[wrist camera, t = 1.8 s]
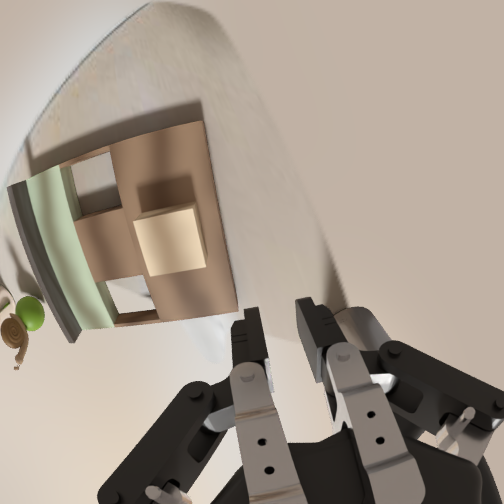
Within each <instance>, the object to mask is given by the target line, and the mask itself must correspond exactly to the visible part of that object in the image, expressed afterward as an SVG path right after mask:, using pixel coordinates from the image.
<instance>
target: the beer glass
mask: <svg viewBox="0 0 504 504" xmlns="http://www.w3.org/2000/svg"><path fill="white" fill-rule="evenodd" d="M15 308H16V305H15V302H14V299H13V297H12V296H11V294H10V293H9V292H8V290H7V289H5V288H4V287H2V286H0V328H1V324H2V322H3V321H4V320H5V319H6V318H10V315H9V313H13V314H15Z"/></svg>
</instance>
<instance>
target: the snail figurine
mask: <svg viewBox="0 0 504 504" xmlns="http://www.w3.org/2000/svg"><path fill="white" fill-rule="evenodd" d="M9 315H10V317H11V318H6V319H5V320H4V321H3V322H2V324H1V336H2V339H3V341H4V342H5V343H6V345H8V346H9V347H10V348H15V349H16V348H19V347H20V349H19V352H18V354H17V355H16V356H15V360H16V362H17V363H18V364H22V362H23V358H24V356H25V353H26V350H27V347H28V340H29V338H28V334H27V330H28V331H35V330H37V329H39V328H40V327H41V326H42V324H43V322H44V317H45V314H44V309H43V306H42V304H41V303H40V302H39V301H38V300H37V299H36V298H34V297H31V296H26V297H23V298H21V299H20V300H19V301H18V303H17V305H16V308H15V314H13V313H9ZM14 370H19V367H14Z"/></svg>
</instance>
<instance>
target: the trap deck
mask: <svg viewBox="0 0 504 504" xmlns="http://www.w3.org/2000/svg"><path fill="white" fill-rule="evenodd" d="M109 151H110V154H111V159H112V164H113V168H114V173H115V178H116V182H117V186H118V190H119V195H120V199H121V203H122V205H120V206H116V207H112V208H109V209H105V210H101V211H98V212H94V213H91V214H87V215H84V216H82V212H81V209H80V205H79V201H78V197H77V194H76V190H75V185H74V181H73V177H72V172H71V167H70V166H71V165H74V164H76V163H79V162H81V161H84V160H87V159H89V158H92V157H95V156H98V155H101V154H103V153H106V152H109ZM7 191H8V195H9V200H10V204H11V207H12V211H13V215H14V218H15V222H16V225H17V228H18V232H19V235H20V238H21V241H22V244H23V246H24V249H25V252H26V255H27V257H28V260H29V262H30V265H31V268H32V270H33V272H34V275H35V277H36V279H37V282H38V284H39V286H40V288H41V291H42V293H43V295H44V297H45V299H46V301H47V303H48V305H49V307H50V309H51V311H52V313H53V315H54V317H55V319H56V321H57V322H58V324H59V326H60V328H61V330H62V331H63V333H64V335H65V336H66V338H67V340H68V342H69V343H75V341H76V340H77V338H78V336H79V334H80V333H81V331H82V330H87V329H101V328H112V327H123V326H133V325H143V324H152V323H160V322H169V321H177V320H184V319H192V318H199V317H206V316H212V315H219V314H225V313H231V312H237V311H238V300H237V295H236V290H235V286H234V281H233V276H232V271H231V266H230V261H229V256H228V252H227V247H226V241H225V236H224V231H223V226H222V221H221V216H220V211H219V205H218V200H217V195H216V189H215V184H214V178H213V173H212V167H211V162H210V156H209V150H208V144H207V139H206V133H205V127H204V122H203V121H202V120H201V121H196V122H191V123H187V124H182V125H178V126H173V127H169V128H165V129H161V130H158V131H154V132H150V133H146V134H143V135H139V136H136V137H133V138H129V139H126V140H123V141H120V142H117V143H114V144H111V145H108V146H105V147H102V148H99V149H97V150H94V151H91V152H88V153H86V154H83V155H81V156H78V157H76V158H73V159H71V160H68V161H66V162H64V163H61V164H59V165H57V166H54V167H52V168H50V169H48V170H46V171H43V172H41V173H39V174H37V175H35V176H33V177H31V178H29V179H27V180H25V181H22V182H19V183H16V184H13V185H11V186H9V187H7ZM195 201H196V203H197V208H198V213H199V217H200V222H201V227H202V231H203V236H204V240H205V245H206V249H207V253H208V257H207V265H206V267H204V268H198V269H192V270H187V271H181V272H175V273H169V274H163V275H157V276H151V277H150V275H149V272H148V269H147V266H146V263H145V260H144V257H143V253H142V250H141V247H140V244H139V240H138V237H137V234H136V230H135V227H134V223H133V221H134V220H135V219H136V218H137V217H138V216H139V215H140V214H141V213H144V212H148V211H153V210H157V209H162V208H166V207H171V206H176V205H180V204H185V203H190V202H195ZM137 275H143V276H144V278H145V281H146V284H147V287H148V290H149V292H150V295H151V298H152V300H153V303H154V305H155V308H156V309H154V310H147V311H138V312H130V313H121V314H119V313H118V310H117V308H116V306H115V304H114V301H113V299H112V297H111V295H110V292H109V290H108V287H107V285H106V282H105V281H108V280H114V279H119V278H125V277H131V276H137Z"/></svg>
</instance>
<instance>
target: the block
mask: <svg viewBox="0 0 504 504" xmlns="http://www.w3.org/2000/svg"><path fill="white" fill-rule="evenodd" d="M133 223H134V227H135V230H136V234H137V237H138V240H139V244H140V247H141V250H142V253H143V257H144V260H145V263H146V266H147V269H148V272H149V275H150V277H151V276H157V275H163V274H169V273H175V272H181V271H187V270H192V269H198V268H204V267H206V265H207V257H208V253H207V249H206V245H205V240H204V236H203V231H202V227H201V222H200V217H199V213H198V208H197V203H196V201H195V202H190V203H185V204H180V205H176V206H171V207H166V208H162V209H157V210H153V211H148V212H144V213H141V214H140V215H139V216H138V217H137V218H136V219H135V220H134V221H133Z"/></svg>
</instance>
